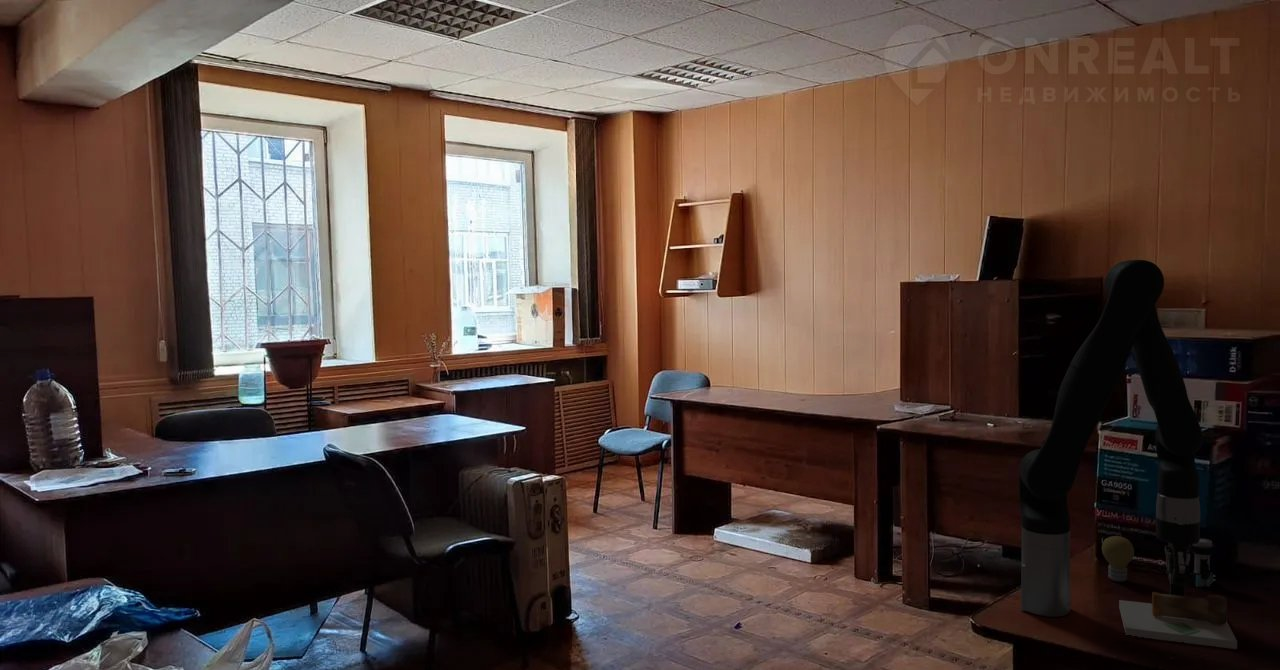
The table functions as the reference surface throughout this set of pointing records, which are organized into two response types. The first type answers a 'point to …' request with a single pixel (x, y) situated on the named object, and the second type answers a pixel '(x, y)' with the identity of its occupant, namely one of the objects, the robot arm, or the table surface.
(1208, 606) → the peg lever
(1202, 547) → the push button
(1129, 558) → the light bulb
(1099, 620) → the table surface
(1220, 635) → the plate
